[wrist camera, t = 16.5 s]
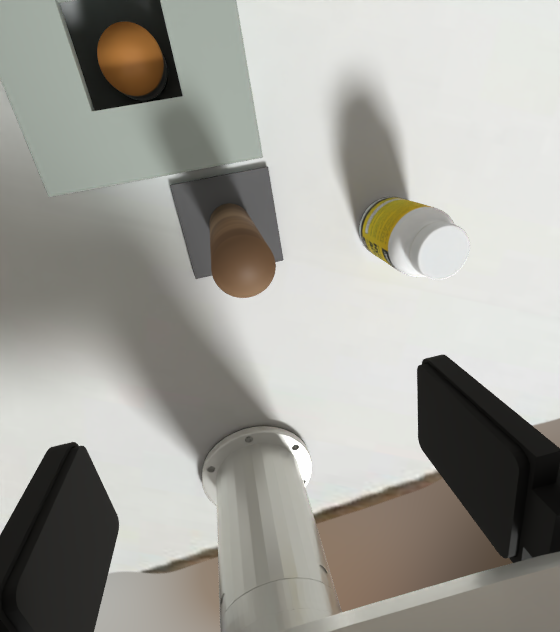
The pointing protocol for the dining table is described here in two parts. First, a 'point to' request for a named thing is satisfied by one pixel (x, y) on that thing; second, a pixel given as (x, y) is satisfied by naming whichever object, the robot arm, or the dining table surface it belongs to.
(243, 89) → the grey square block
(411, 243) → the supplement bottle
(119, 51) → the orange dome button
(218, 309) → the dining table surface
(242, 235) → the dowel
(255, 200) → the pad
